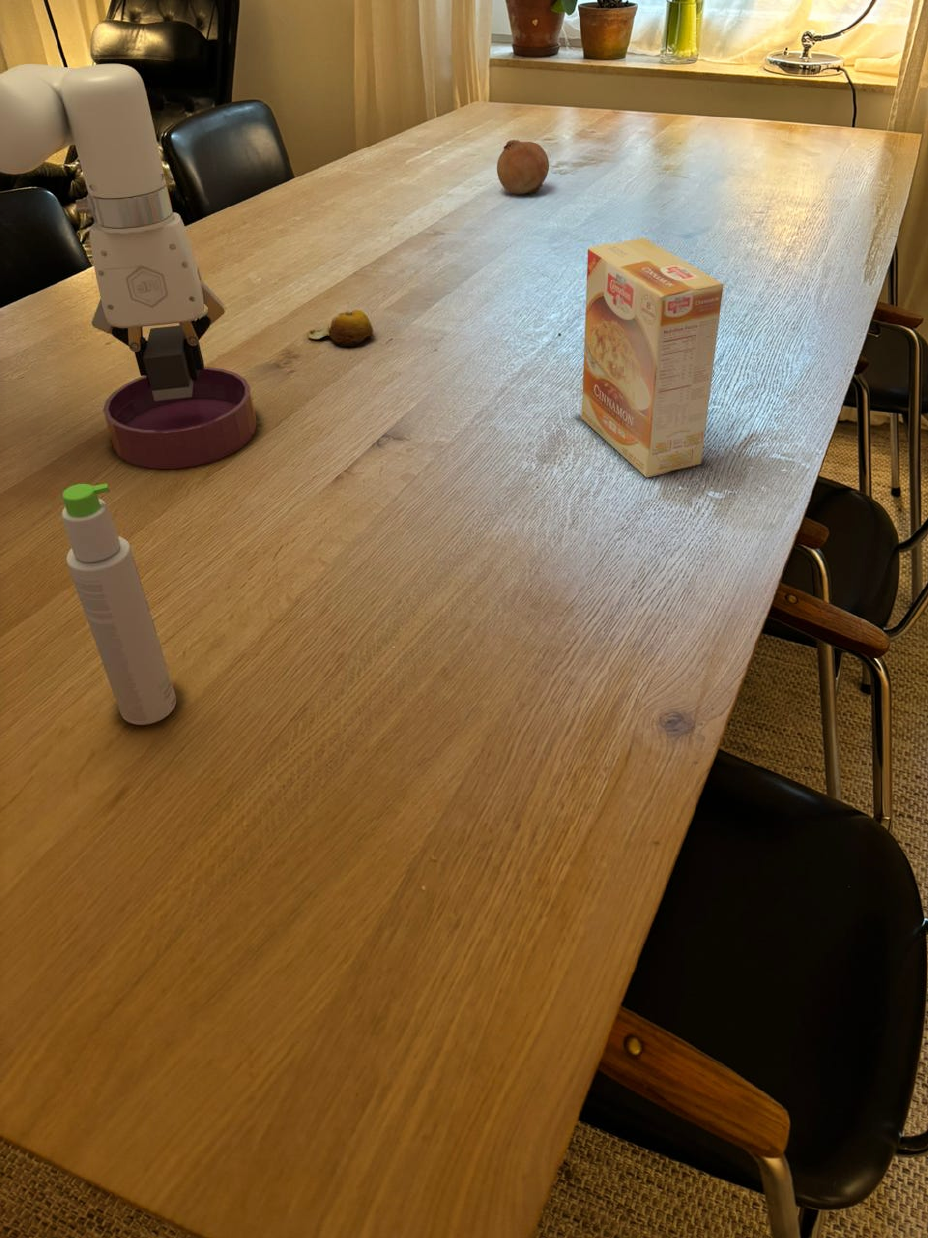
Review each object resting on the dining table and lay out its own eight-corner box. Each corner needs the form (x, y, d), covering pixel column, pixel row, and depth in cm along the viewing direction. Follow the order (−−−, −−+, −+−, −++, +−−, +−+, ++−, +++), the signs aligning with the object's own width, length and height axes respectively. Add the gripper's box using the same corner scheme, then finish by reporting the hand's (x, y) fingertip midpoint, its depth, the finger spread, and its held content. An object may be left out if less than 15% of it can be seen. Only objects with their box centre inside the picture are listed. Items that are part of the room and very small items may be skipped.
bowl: (105, 476, 108) (94, 439, 105) (122, 408, 120) (112, 374, 117) (256, 460, 109) (248, 423, 106) (257, 395, 122) (251, 360, 119)
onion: (502, 210, 184) (477, 158, 180) (536, 184, 187) (512, 133, 183) (533, 201, 177) (507, 147, 172) (568, 175, 180) (544, 120, 175)
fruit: (353, 319, 139) (350, 293, 136) (389, 336, 134) (387, 309, 131) (304, 337, 135) (300, 310, 132) (339, 355, 130) (336, 328, 127)
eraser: (154, 401, 107) (143, 357, 104) (160, 370, 113) (150, 327, 110) (191, 397, 108) (181, 353, 104) (196, 366, 114) (186, 324, 111)
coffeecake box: (578, 418, 114) (585, 246, 101) (633, 405, 116) (646, 235, 103) (644, 479, 103) (660, 295, 91) (703, 464, 105) (727, 281, 92)
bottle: (172, 723, 77) (104, 506, 65) (115, 728, 77) (36, 511, 65) (180, 685, 81) (117, 472, 68) (126, 689, 81) (52, 476, 68)
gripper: (39, 226, 95) (93, 401, 107) (215, 210, 97) (250, 384, 108) (52, 204, 101) (102, 372, 112) (218, 188, 102) (251, 356, 114)
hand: (174, 376), depth 110 cm, fingers closed on eraser, 4 cm apart
